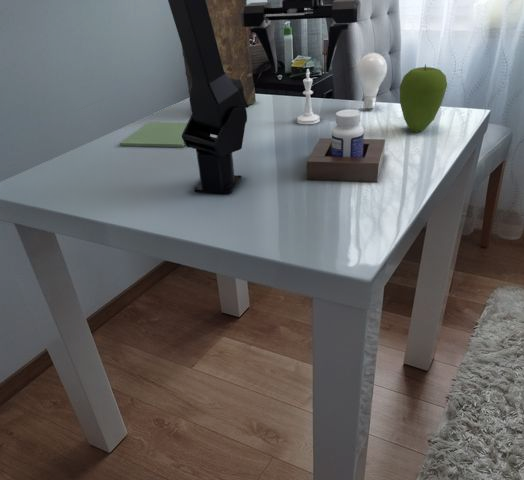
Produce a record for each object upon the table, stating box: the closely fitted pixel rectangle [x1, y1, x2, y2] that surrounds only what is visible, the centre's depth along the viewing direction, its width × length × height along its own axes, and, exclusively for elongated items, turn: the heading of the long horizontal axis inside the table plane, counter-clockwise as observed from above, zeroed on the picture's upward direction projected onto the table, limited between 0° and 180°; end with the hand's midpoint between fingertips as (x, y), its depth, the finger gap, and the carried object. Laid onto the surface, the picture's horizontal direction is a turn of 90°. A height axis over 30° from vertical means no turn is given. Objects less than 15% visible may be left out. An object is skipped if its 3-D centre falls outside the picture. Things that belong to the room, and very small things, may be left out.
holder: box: [306, 137, 386, 183], centre depth 86 cm, size 12×12×3 cm
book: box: [181, 0, 257, 106], centre depth 113 cm, size 17×7×25 cm, turn 126°
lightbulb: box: [356, 52, 388, 111], centre depth 109 cm, size 6×6×11 cm
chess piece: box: [296, 68, 320, 125], centre depth 106 cm, size 5×5×10 cm
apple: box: [399, 64, 448, 133], centre depth 96 cm, size 9×8×12 cm
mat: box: [119, 121, 188, 148], centre depth 108 cm, size 14×14×1 cm
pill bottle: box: [331, 108, 365, 158], centre depth 84 cm, size 5×5×9 cm
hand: (301, 72), depth 87 cm, fingers open, 9 cm apart
